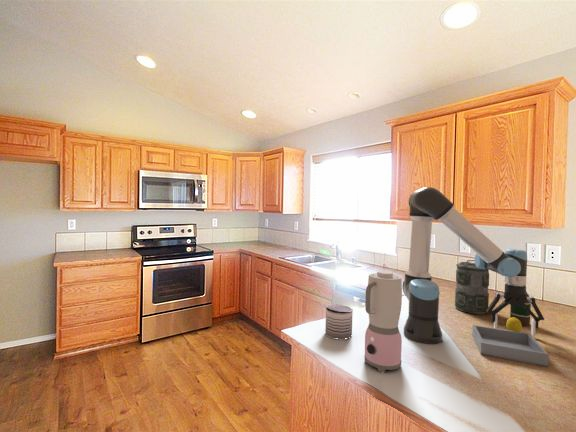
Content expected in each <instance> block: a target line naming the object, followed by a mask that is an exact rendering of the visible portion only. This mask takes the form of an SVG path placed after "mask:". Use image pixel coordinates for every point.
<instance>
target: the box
mask: <svg viewBox="0 0 576 432" xmlns="http://www.w3.org/2000/svg"><path fill="white" fill-rule="evenodd" d="M471 327H472V330H471V331H472V332H471V334H472V335H471V336H472V338H473V339H474V342H475V345H476V347H477V349H478V351H479V353H480V355H483V356H487V357H491V358H498V359H503V360H508V361H513V362H520V363H525V364H529V365H535V366H541V367H545V368H549V358H550V357H549V356H550V355H549V353H548V352H547V351H546V350H545V349H544V348H543V346H541V345H540V343H539V342H538V341H537V340H536V339H535V338H534V336H533V335H532V334H531V333H528V332H522V331H521V332H516V331H510V330H507V329H502V328H498V327H497V328H494V327H491V326H490V327H489V326H482V325H476V324H472V326H471Z"/></svg>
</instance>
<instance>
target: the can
mask: <svg viewBox="0 0 576 432" xmlns="http://www.w3.org/2000/svg"><path fill="white" fill-rule="evenodd" d="M353 310H354V308H351V307H349V306H347V305H342V304H334V303H333V304H330V303H328V304H326V305H325V328H324V329H325V332H326V333H325V335H326V334H327V335H328V336H330V337H332V338H338V339H345V338H349V337H350V336H351V335H352V336H353ZM327 335H326V336H327ZM328 336H327V337H328ZM352 336H351V337H352ZM330 337H329V338H330ZM351 337H350V338H351ZM332 338H331V339H332ZM350 338H349V339H350Z"/></svg>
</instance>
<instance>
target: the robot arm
mask: <svg viewBox="0 0 576 432" xmlns="http://www.w3.org/2000/svg"><path fill="white" fill-rule="evenodd" d="M408 206H409V207H408V208H409V215H408V217H409V218H410V219H411V220H412V221H411V236H410V248H409V260H408V261H409V263H408V270H406V271H405V272H404V281H402V293H403V295H404V296H405V297H406V298H407V300H408V316H407V319H406V321H405V324H404V326H403V335H404V336H405V337H407V339H410V340H412V341H414V340H415V342H417V341H418V342H417V343H422V344H439V343H441V342H443V332H442V329H441V326H440V323H439V322H440V321H439V308H440V307H439V305H440V304H439V303H440V302H439V301H440V288H439V284H438V283H436V282H435V281H432V278H433V276H432V275H431V273H430V272H429V270H430V256H431V255H430V254H431V242H432V241H431V240H432V229H433V227H432V226H433V221H434V220H435V221H438V222H441V223H442V224H443V225H444V226H445V227H446V228H448V229H449V231H451V232H452V233H453V234H454V235H455V236H456V237H458V239H460V240H461V242H463V243H464V244H465V245H466V246H467V247H469V248H470V249H471V250H472V251H473V252H474V253H475V256H474V260H475V261H474V263H475V265H476V267H477V268H478V269H484V270H485V269H488V270H489V271H491V272H494V273H497V274H498V275H501V276H503V277H504V282H505V283H504V293H499V292H496V293H495V295H494V296H495V297H494V298H493V300H491V303H490V304H489V305H488V309H487V313H488V314H491V316H490V318H491V322H493V328H497V329H498V313H500V311H502V310H503V309H505V308H506V307H507V306H509V305H510V306H511V305H516V306H521V305H522V306H523V307H524V308H525V309H526V310H527V312H528V313H529V314H530V317H532V318H530V335H531V336H532V337H535V336H536V329H538V328H539V322H540V321H544V320H545V318H544V315H543V314H542V312H541V310H540V309H539V307H538V306H539V305H537V303H536V298H535V297H534V296H529V297H526V292H527V270H528V269H527V268H528V253H527V250H524V249H516V248H506V249H505V251H503V250H502V249H501V248H500V247H499V246H497V244H496V243H494V242H493V241H492V240H491V239H490V238H489V237H488V236H486V235H485V234H484V232H482V231H480V229H478V228H477V227H476V226H475V225H474V224H473V223H472V222H470V221H469V220H468V219H467V218H466V217H465V216H464V215H463V214H461V213H460V212H459V211H458V210H457V209H456V208H455V204H454V202H452V201H451V200H450V199H449V198H448V197H447V196H445V194H443V193H442V192H441V191H440V190H438V189H437V188H435V187H432V186H425V187H422V188H419V189H417V190H414V191H413V192H412V193H411V194H410V196H409V198H408ZM524 285H526V286H524ZM502 298H504V300H503V301H502V302H501V303H500V304H499V305H498V306H496V305H497V304H498V303H499V302H500V300H501V299H502ZM527 300H528V301H529V302H531V306H532V307H533V310H534V311H535V313H534V312H533V311H532V310H530V309H529V308H528V307H527V306H526V304H525V303H524V302H526V301H527ZM536 315H537V316H536Z"/></svg>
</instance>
